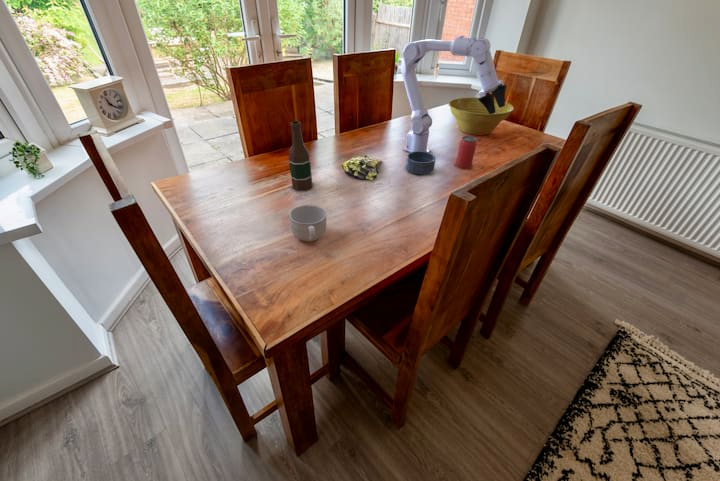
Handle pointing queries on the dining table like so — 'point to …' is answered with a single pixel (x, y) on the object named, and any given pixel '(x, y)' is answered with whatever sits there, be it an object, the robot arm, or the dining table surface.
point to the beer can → (466, 152)
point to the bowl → (420, 162)
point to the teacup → (308, 222)
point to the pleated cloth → (362, 167)
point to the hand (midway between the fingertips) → (497, 110)
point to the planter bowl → (477, 115)
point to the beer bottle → (299, 160)
